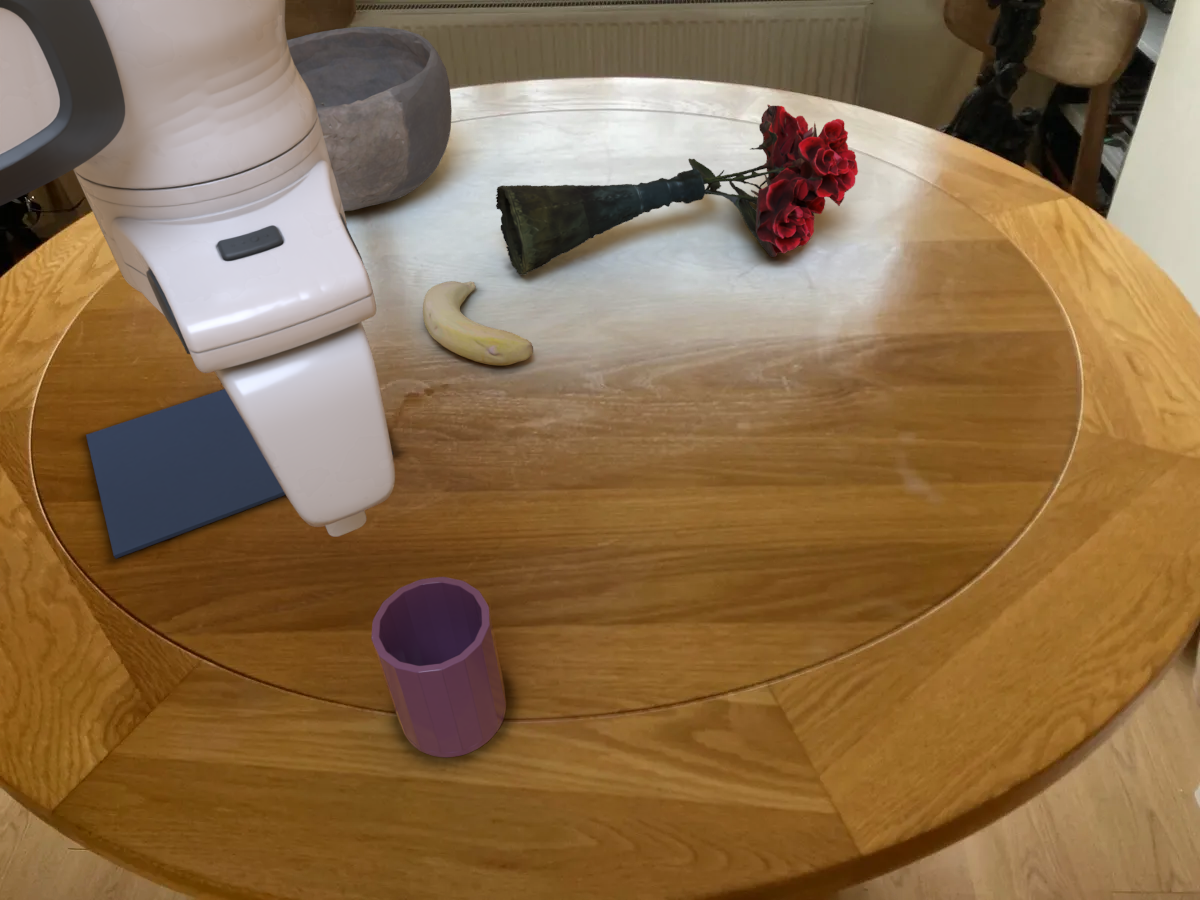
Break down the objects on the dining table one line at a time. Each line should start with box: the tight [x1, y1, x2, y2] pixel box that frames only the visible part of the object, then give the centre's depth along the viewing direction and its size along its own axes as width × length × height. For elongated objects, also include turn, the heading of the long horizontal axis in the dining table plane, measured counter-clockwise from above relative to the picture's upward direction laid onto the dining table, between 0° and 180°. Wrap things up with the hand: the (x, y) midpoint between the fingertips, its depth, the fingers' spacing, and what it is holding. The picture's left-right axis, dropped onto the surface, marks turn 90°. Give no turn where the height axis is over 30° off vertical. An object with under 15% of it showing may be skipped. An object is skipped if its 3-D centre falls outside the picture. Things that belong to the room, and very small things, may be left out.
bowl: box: [287, 26, 453, 212], centre depth 109 cm, size 24×24×15 cm
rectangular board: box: [85, 388, 394, 559], centre depth 81 cm, size 22×16×1 cm
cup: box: [370, 576, 507, 758], centre depth 58 cm, size 7×7×9 cm
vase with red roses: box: [495, 104, 859, 276], centre depth 97 cm, size 16×18×35 cm
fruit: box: [422, 280, 534, 366], centre depth 90 cm, size 7×15×3 cm, turn 28°
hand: (314, 461), depth 47 cm, fingers open, 8 cm apart
